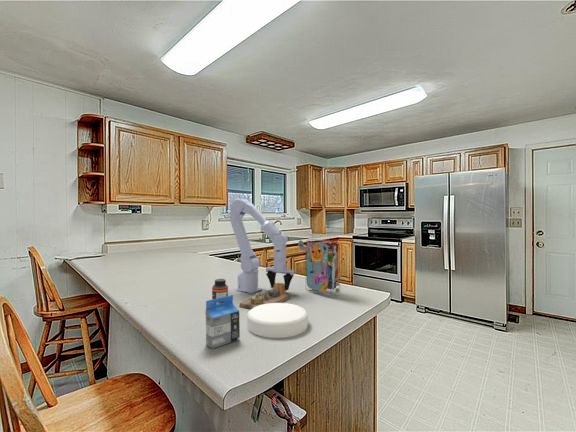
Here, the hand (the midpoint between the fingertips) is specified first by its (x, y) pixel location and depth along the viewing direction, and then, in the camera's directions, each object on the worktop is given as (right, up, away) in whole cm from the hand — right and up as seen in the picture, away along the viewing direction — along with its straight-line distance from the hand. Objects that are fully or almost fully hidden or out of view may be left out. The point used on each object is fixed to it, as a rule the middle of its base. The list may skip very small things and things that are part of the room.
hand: (279, 288), depth 132 cm
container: (0, -3, -38) cm, 38 cm away
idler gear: (0, -2, 0) cm, 2 cm away
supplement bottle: (-22, -2, -23) cm, 32 cm away
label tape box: (-15, -2, -51) cm, 53 cm away
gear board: (-5, -2, -14) cm, 15 cm away
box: (+17, -2, +3) cm, 17 cm away
